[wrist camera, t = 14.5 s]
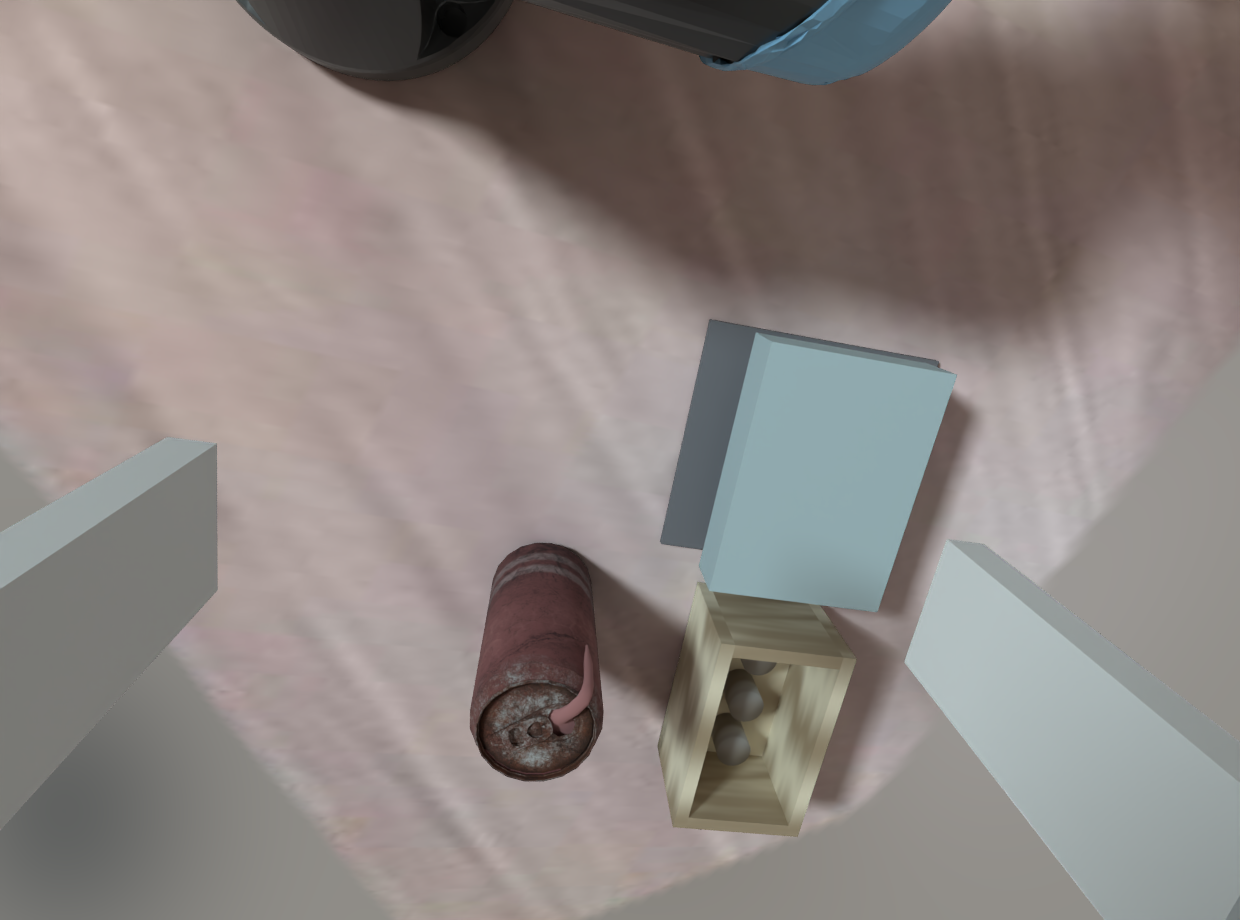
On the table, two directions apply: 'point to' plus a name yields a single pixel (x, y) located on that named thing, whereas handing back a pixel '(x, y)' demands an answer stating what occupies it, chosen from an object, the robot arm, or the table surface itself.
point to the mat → (718, 426)
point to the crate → (751, 712)
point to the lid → (821, 473)
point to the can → (538, 667)
